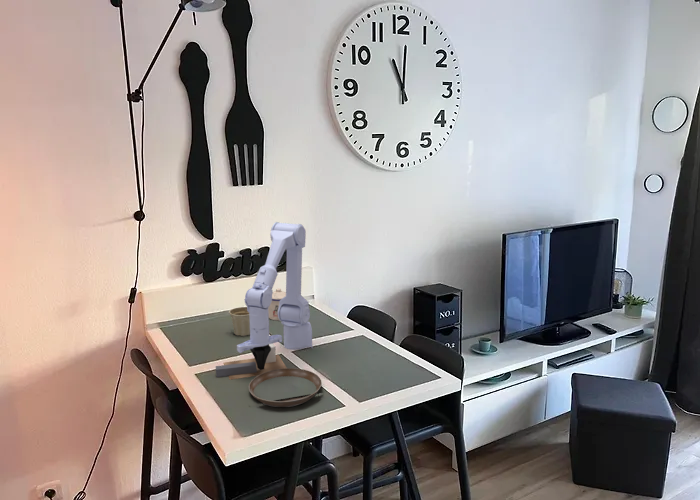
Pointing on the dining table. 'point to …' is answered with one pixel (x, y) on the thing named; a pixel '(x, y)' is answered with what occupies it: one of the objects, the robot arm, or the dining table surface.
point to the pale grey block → (271, 354)
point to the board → (268, 367)
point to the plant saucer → (280, 373)
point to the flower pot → (240, 321)
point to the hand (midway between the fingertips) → (260, 368)
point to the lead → (236, 369)
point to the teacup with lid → (275, 304)
